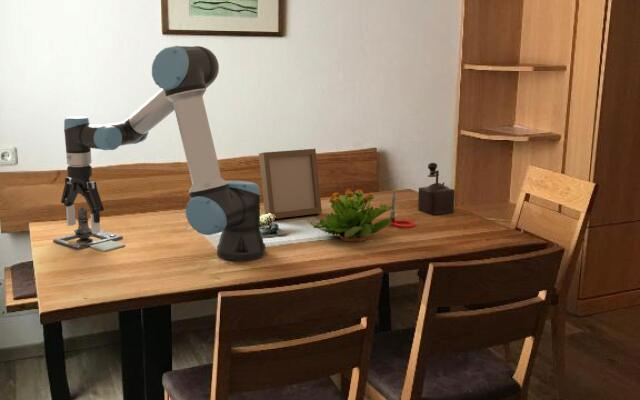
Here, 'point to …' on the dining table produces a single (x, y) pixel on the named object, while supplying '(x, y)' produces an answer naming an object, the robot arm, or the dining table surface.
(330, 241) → the dining table surface
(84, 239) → the dark grey chess piece
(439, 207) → the manual coffee grinder
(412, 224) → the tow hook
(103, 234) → the grey metal rectangular frame
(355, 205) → the potted flower
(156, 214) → the dining table surface
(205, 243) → the dining table surface
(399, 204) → the dining table surface
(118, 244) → the mat
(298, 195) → the photo frame
